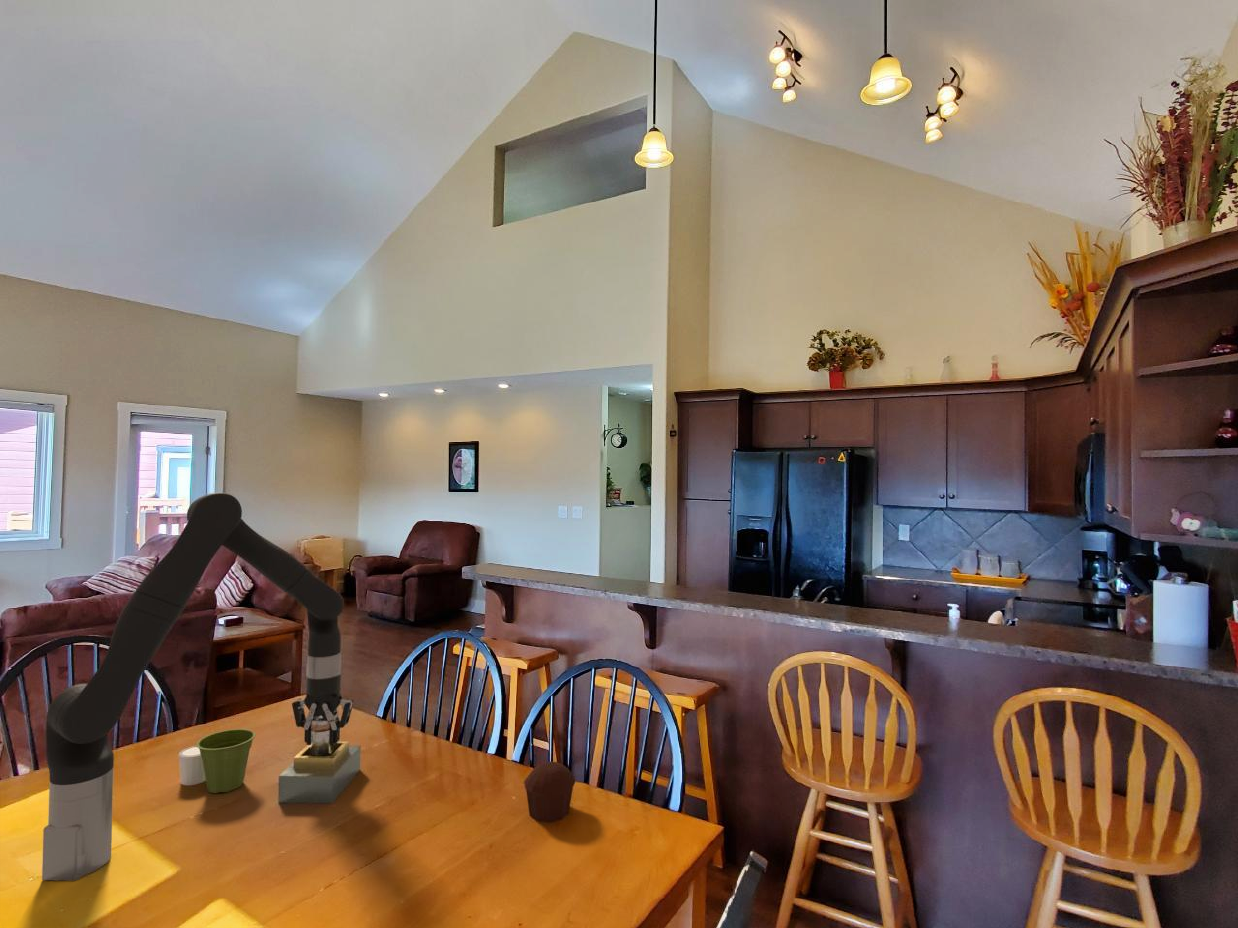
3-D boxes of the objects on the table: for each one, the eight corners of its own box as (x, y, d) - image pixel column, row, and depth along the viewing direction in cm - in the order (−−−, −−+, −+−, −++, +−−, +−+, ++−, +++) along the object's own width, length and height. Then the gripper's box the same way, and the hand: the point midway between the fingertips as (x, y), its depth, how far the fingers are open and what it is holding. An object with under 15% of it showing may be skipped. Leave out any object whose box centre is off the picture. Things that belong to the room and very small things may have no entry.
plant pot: (265, 775, 154) (266, 729, 154) (231, 801, 142) (232, 750, 143) (220, 772, 155) (221, 726, 156) (182, 797, 144) (183, 747, 144)
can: (327, 756, 148) (328, 718, 148) (306, 756, 148) (306, 717, 148) (337, 747, 153) (338, 709, 153) (316, 746, 153) (317, 709, 153)
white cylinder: (199, 787, 148) (200, 757, 148) (170, 786, 148) (171, 756, 149) (218, 773, 155) (219, 744, 155) (191, 772, 155) (191, 743, 155)
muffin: (565, 829, 134) (566, 781, 134) (516, 822, 136) (516, 775, 136) (580, 800, 146) (581, 756, 146) (534, 794, 148) (535, 751, 148)
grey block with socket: (331, 803, 142) (332, 765, 142) (278, 802, 142) (279, 764, 142) (360, 768, 159) (361, 734, 159) (312, 767, 159) (313, 733, 159)
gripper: (285, 676, 147) (283, 750, 146) (347, 677, 147) (345, 751, 147) (301, 666, 154) (299, 736, 154) (360, 667, 154) (358, 737, 154)
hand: (322, 743), depth 150 cm, fingers closed on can, 5 cm apart
